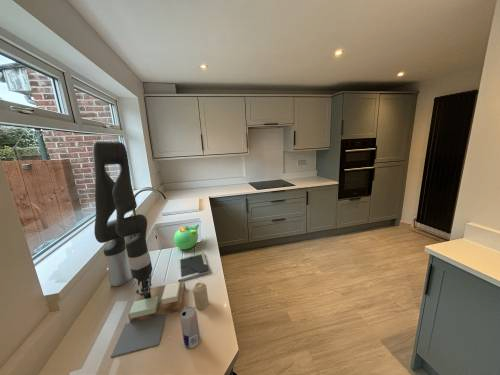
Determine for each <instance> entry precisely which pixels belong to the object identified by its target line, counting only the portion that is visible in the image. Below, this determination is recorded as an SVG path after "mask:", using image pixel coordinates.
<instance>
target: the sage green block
mask: <svg viewBox="0 0 500 375" xmlns="http://www.w3.org/2000/svg"><path fill="white" fill-rule="evenodd" d="M134 301H135V300H134ZM134 301H133V303H132V305H131V307H132V308H130V309H131V310H129V311H128V314H129V316H130V319H131V318H135V317H139V316H144V315H148V314H152V313H155V312H156V309H157V305H158V302H159V300H158V296H157V297H153V298H148V299H144V300H139V301H135V302H134Z"/></svg>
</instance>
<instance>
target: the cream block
mask: <svg viewBox="0 0 500 375" xmlns="http://www.w3.org/2000/svg"><path fill="white" fill-rule="evenodd" d="M165 285H166V286H165V289H164V293H163V296H162V304H167V303H171V302H176V301H178V297H179V291H180V282H178V281H177V282H173V283H168V284H165Z"/></svg>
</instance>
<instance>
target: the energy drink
mask: <svg viewBox="0 0 500 375" xmlns="http://www.w3.org/2000/svg"><path fill="white" fill-rule="evenodd" d="M179 320H180V322H179V323H180V327H181V331H182V337H183V342H184V346H185V348H186V349H195V348H196V347H197V346H198V345H199V344H200V342H201V334H200V327H199V322H198V315H197V311H196V307H193V306H187V307H184V308H183V310H182V311H180V312H179Z"/></svg>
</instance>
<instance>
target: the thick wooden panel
mask: <svg viewBox="0 0 500 375" xmlns="http://www.w3.org/2000/svg"><path fill="white" fill-rule="evenodd" d="M166 285H167V284H164V285H159V286H153V287H150V288H151V289H150V292H151V298H153V297H157V296H158V300H159V302H158V305H157V309H156V312H155V313H152V314H148V315H144V316H139V317H135V318H131V319H130V316H129V313H128V314H127V316H128V320H129V323H130V322H134V321H138V320H142V319H147V318H151V317H155V316H160V315H164V314H166V316H167V315H171V314H176V313H181V311H182V310H183V309H184V304H185V303H184V301H185V295H186V290H187V288H186V280H185V281H181V282H180V291H179V297H178V301H176V302H171V303H167V304H162V296H163V293H164V289H165V286H166ZM144 299H145V298H144V295H143V296H140V295H139V294H137V293H136V297H135V298H134V301H133V303H134V302H135V301H139V300H144ZM131 308H132V306H131ZM131 308H130V310H131ZM130 310H129V311H130Z"/></svg>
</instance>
